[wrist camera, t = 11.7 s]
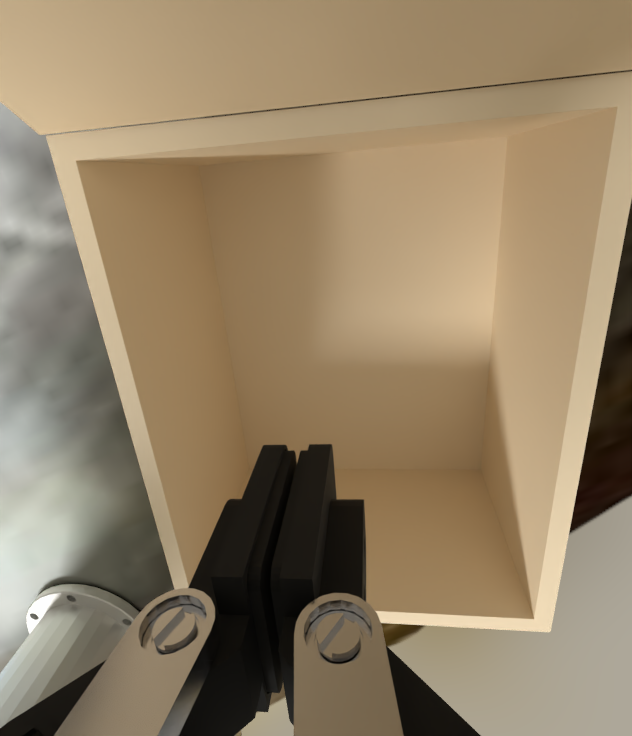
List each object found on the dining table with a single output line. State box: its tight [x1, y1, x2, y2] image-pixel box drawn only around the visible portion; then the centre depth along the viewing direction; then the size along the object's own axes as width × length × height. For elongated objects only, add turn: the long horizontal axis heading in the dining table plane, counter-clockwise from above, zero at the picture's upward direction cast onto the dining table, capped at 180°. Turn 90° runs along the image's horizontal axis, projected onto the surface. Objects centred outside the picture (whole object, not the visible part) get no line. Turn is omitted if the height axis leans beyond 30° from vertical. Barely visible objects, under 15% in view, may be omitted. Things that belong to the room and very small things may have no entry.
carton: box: [46, 71, 632, 632], centre depth 23 cm, size 22×18×12 cm
